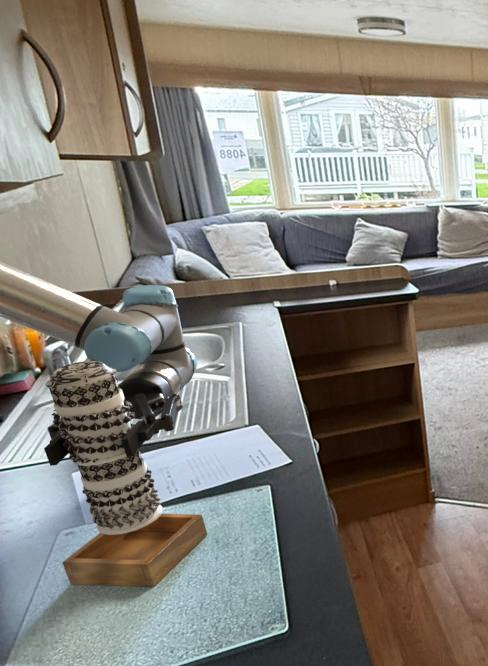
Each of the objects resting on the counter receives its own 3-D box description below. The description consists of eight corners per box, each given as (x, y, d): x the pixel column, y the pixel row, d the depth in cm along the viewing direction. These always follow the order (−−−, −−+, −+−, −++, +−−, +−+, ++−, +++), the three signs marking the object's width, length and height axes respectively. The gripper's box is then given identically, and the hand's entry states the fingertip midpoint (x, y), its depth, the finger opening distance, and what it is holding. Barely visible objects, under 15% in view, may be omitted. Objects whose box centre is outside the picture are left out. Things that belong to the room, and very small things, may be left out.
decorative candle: (83, 542, 94) (22, 383, 85) (106, 508, 102) (52, 360, 93) (155, 529, 97) (104, 374, 87) (172, 497, 105) (126, 352, 95)
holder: (70, 584, 97) (61, 562, 95) (132, 532, 109) (125, 512, 107) (154, 586, 96) (147, 564, 95) (207, 534, 108) (202, 514, 107)
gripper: (221, 404, 114) (181, 465, 94) (82, 418, 109) (8, 486, 89) (211, 364, 112) (168, 418, 91) (68, 377, 106) (-12, 438, 86)
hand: (89, 452), depth 90 cm, fingers closed on decorative candle, 8 cm apart
